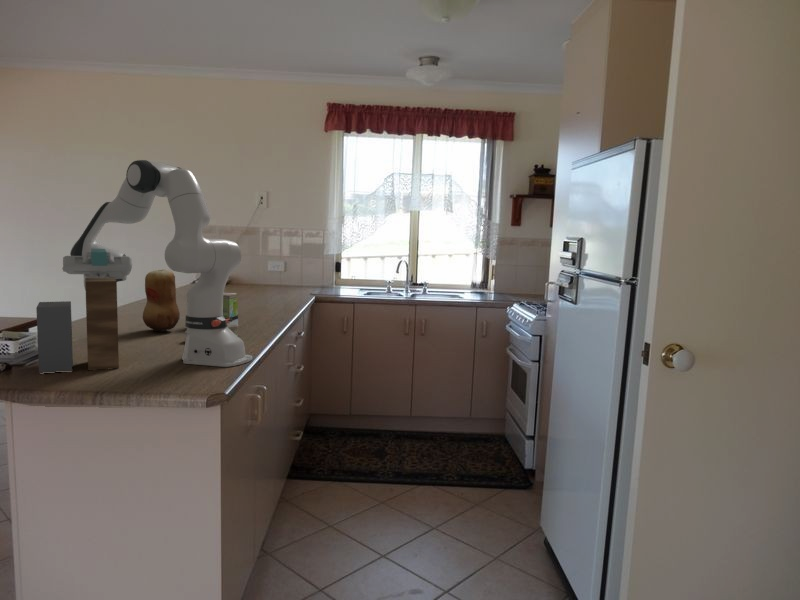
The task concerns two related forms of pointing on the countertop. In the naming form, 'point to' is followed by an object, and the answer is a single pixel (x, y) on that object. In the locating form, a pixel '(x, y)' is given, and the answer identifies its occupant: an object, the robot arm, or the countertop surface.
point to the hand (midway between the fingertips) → (98, 254)
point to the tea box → (230, 307)
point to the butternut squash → (160, 301)
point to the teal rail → (99, 257)
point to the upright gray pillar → (54, 336)
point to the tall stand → (102, 323)
